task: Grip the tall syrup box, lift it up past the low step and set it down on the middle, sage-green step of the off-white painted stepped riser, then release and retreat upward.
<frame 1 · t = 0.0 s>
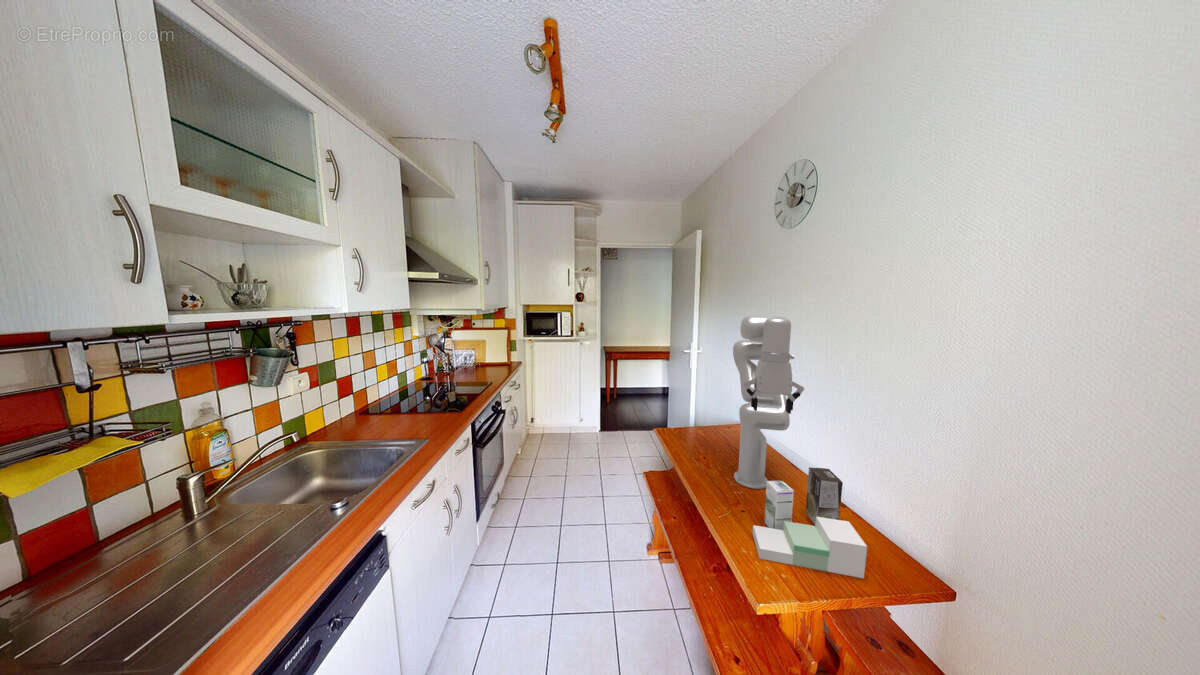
hand: (771, 410, 105), 37 cm above the table, tool pointing down, fingers open, 9 cm apart
coffee box: (821, 521, 108), on the table
stepped riser: (803, 554, 94), on the table
syrup box: (777, 528, 104), on the table
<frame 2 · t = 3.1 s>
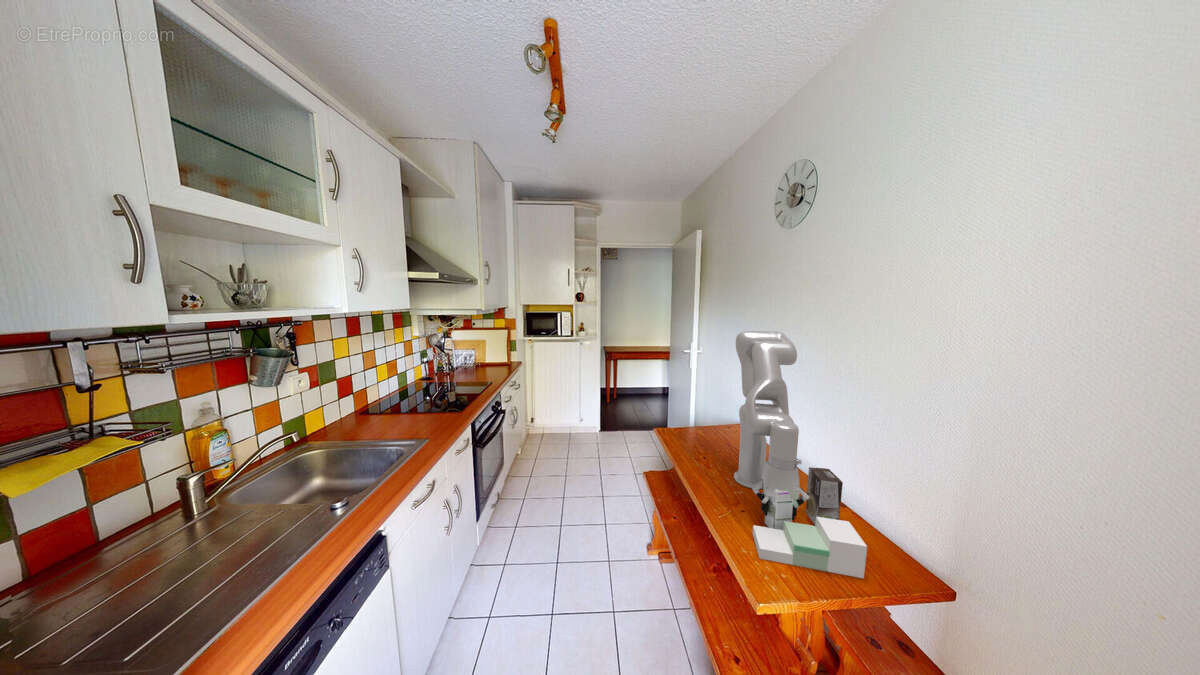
hand: (778, 514, 104), 5 cm above the table, tool pointing down, fingers closed on syrup box, 7 cm apart
syrup box: (777, 528, 104), on the table, touching gripper
everything else where it was.
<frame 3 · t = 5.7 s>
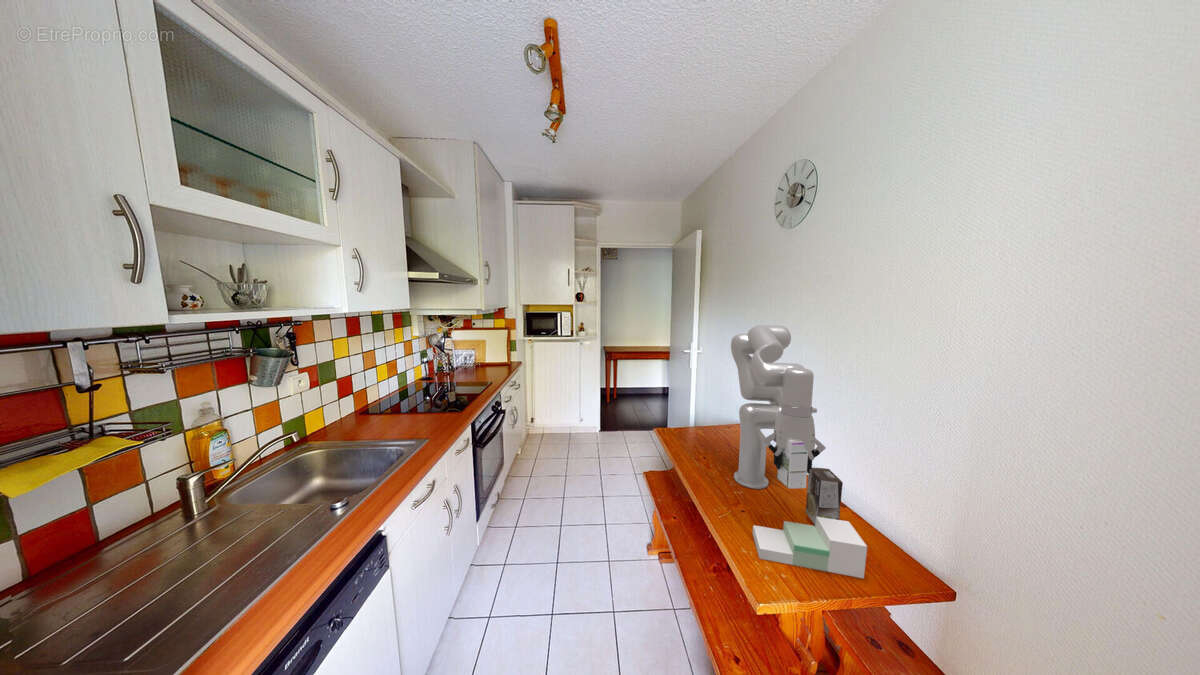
hand: (791, 468, 98), 22 cm above the table, tool pointing down, fingers closed on syrup box, 7 cm apart
syrup box: (790, 484, 98), point 17 cm above the table, touching gripper
everything else where it was.
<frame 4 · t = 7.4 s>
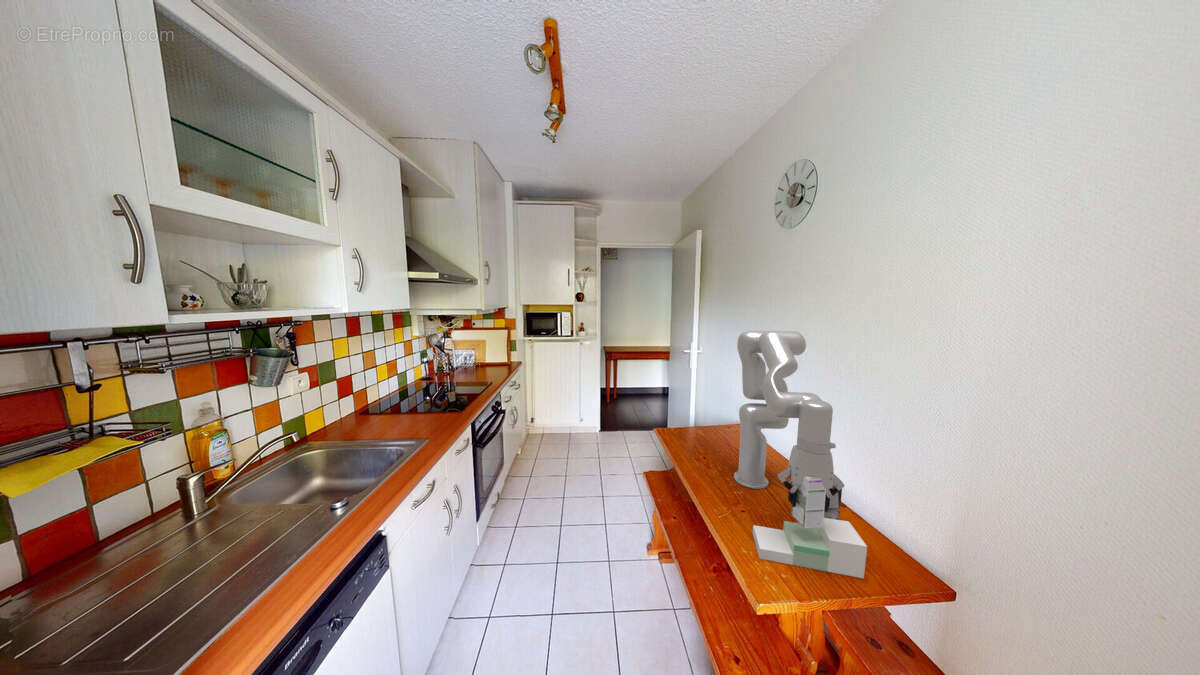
hand: (807, 506, 92), 15 cm above the table, tool pointing down, fingers closed on syrup box, 7 cm apart
syrup box: (806, 522, 92), point 10 cm above the table, touching gripper
everything else where it was.
when the fingers open (12 cm above the table, at t = 8.5 s): syrup box drops 1 cm, resting on stepped riser.
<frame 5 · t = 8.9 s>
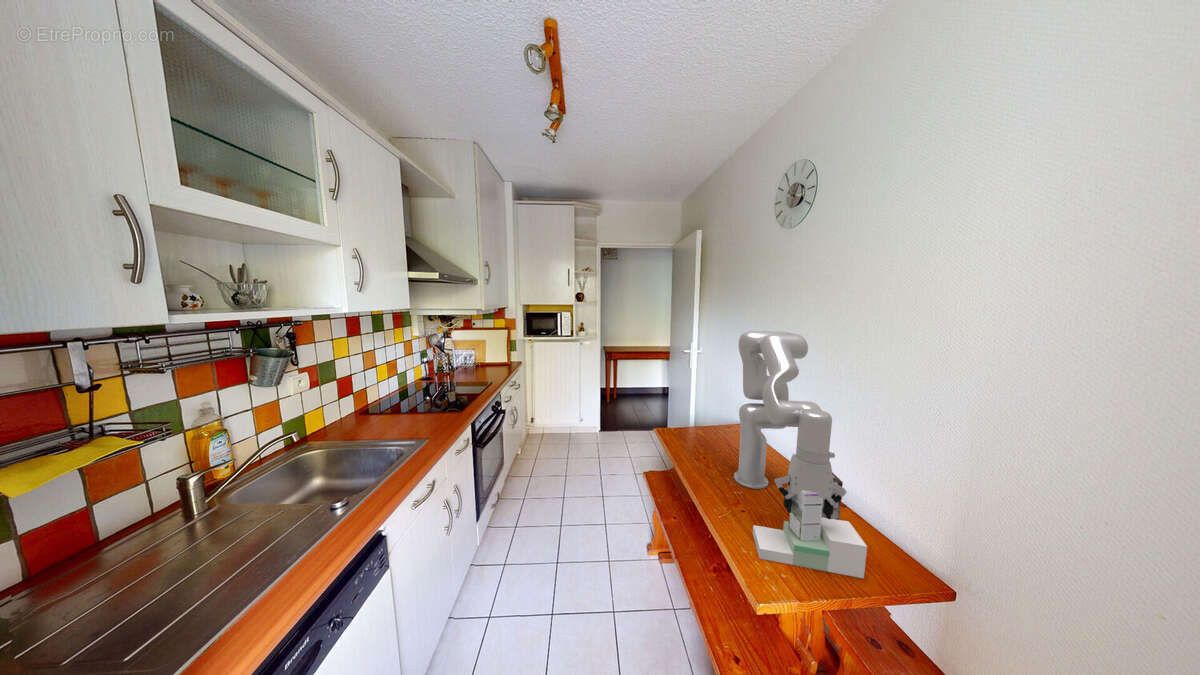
hand: (807, 513, 92), 13 cm above the table, tool pointing down, fingers open, 9 cm apart
syrup box: (803, 534, 93), point 6 cm above the table, touching stepped riser
everything else where it was.
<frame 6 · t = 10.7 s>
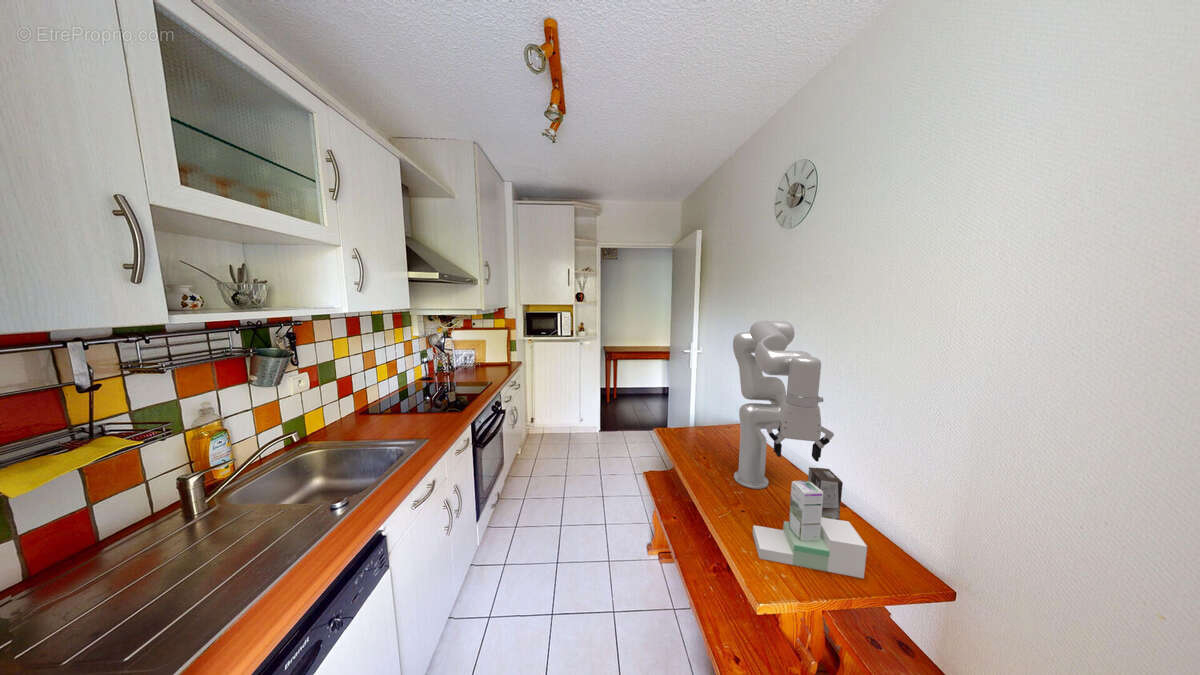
hand: (796, 456, 95), 27 cm above the table, tool pointing down, fingers open, 9 cm apart
nothing on the table moved.
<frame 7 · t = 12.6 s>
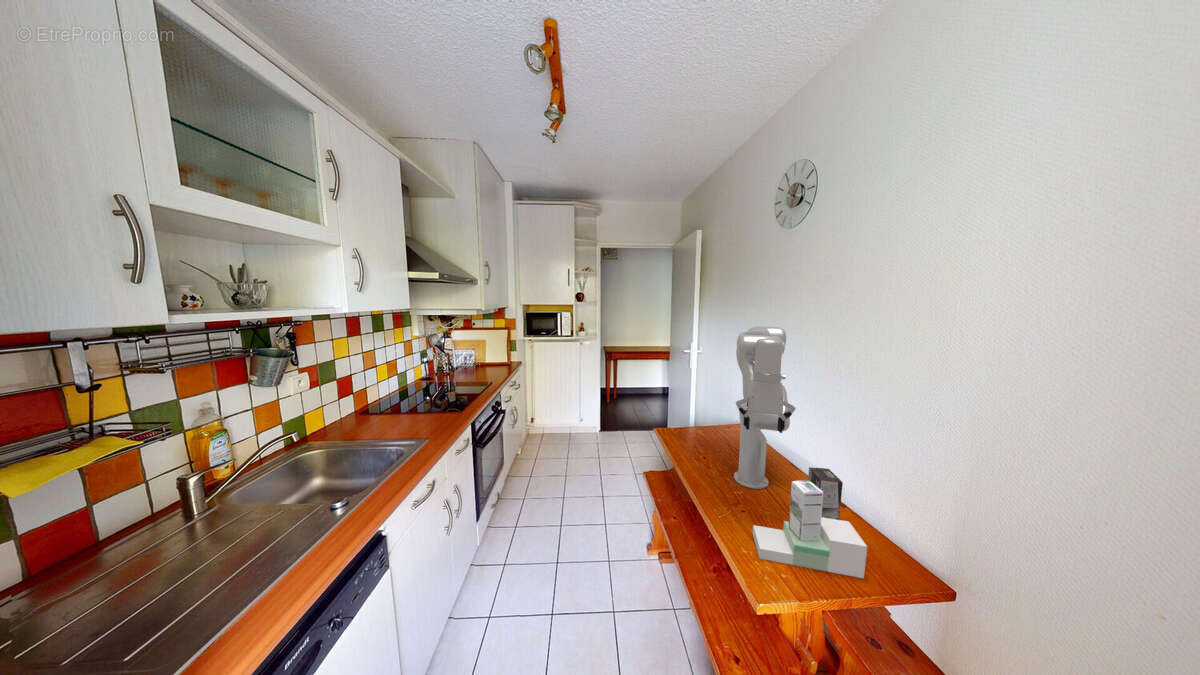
hand: (763, 429, 106), 30 cm above the table, tool pointing down, fingers open, 9 cm apart
nothing on the table moved.
at the end: syrup box inside the target area (0.4 cm from its centre), point 5.8 cm above the table; syrup box tilted 0°; the gripper is holding nothing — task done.
